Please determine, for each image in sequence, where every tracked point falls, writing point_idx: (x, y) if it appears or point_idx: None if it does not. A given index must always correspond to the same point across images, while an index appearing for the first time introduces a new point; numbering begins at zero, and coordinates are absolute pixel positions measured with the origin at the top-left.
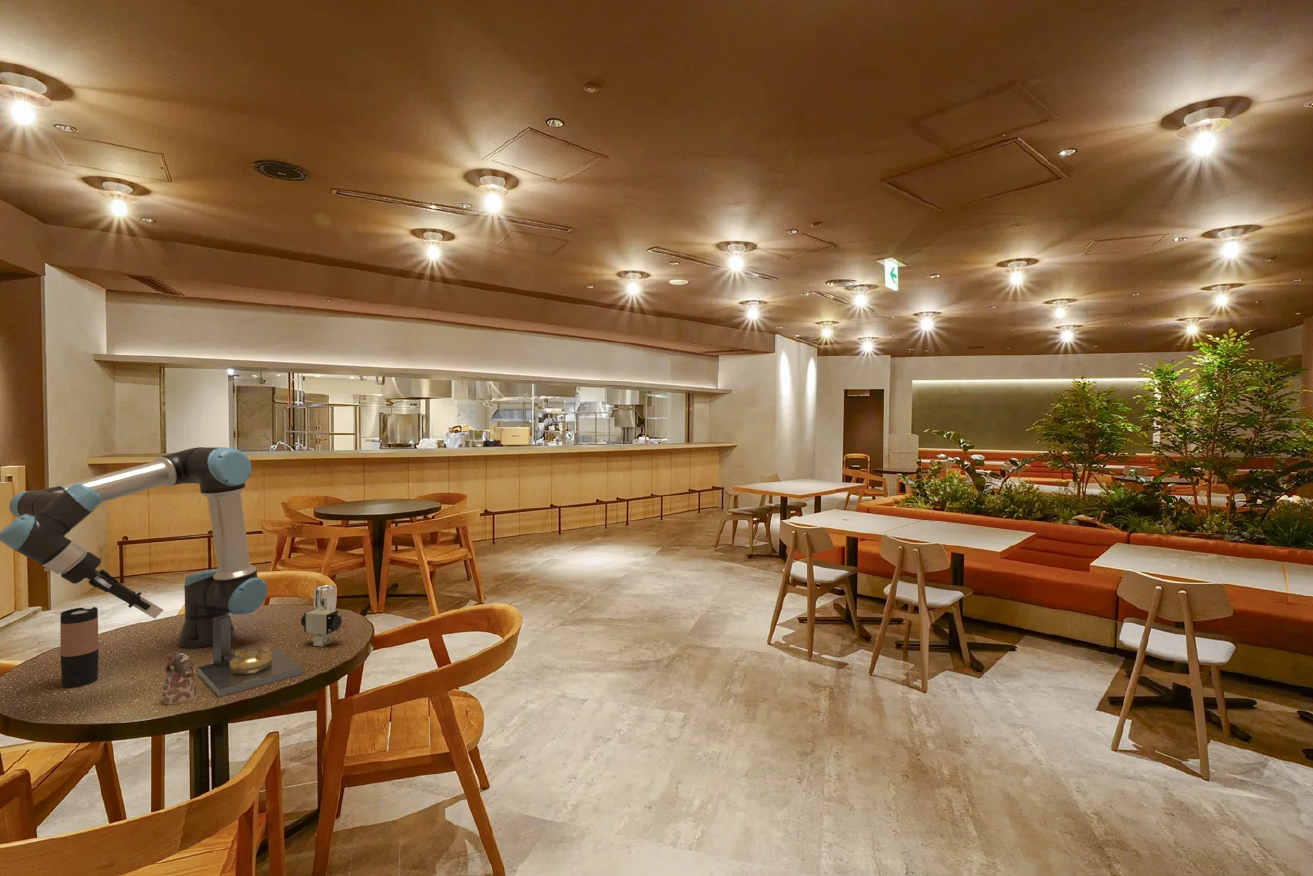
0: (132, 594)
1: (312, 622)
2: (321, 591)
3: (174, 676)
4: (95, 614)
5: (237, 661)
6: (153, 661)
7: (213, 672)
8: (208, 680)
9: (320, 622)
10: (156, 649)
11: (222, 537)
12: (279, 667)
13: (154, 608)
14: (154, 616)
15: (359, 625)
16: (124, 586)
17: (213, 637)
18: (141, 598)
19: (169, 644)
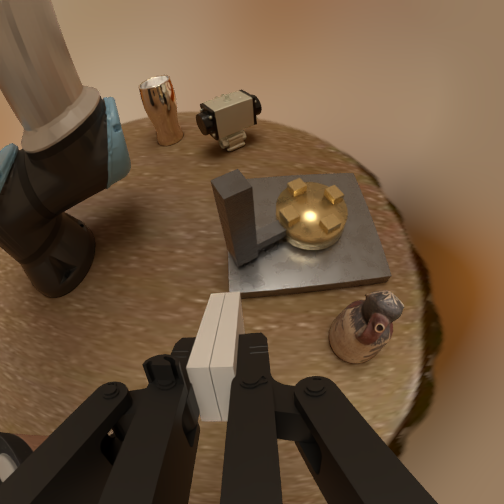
0: (366, 426)
1: (229, 119)
2: (164, 85)
3: (392, 330)
4: (22, 449)
5: (338, 227)
6: (90, 346)
7: (288, 273)
8: (319, 286)
9: (243, 113)
10: (42, 326)
11: (27, 29)
12: None
13: (240, 321)
14: (244, 333)
15: (190, 113)
16: (77, 451)
17: (232, 233)
18: (235, 369)
19: (37, 306)
